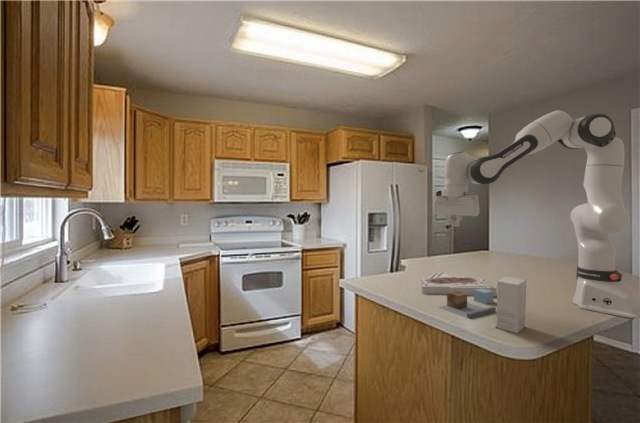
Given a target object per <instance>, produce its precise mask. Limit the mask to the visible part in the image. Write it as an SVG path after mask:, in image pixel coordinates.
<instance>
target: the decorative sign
mask: <svg viewBox="0 0 640 423" xmlns="http://www.w3.org/2000/svg"><path fill="white" fill-rule="evenodd" d="M482 288H483V289H487V290H491V291H494V297H497V286H495V285H491V284H488V283H487V282H486V279H485V278H484V277H483V278H482V277H477V276H461V275H455V274H451V273H449V272H443V271H440V272H434V273H432V274H431V275H430V276H428V277H422V278H421V294H422V295H423V294H424V295H425V294H426V295H447V293H448V292H453V291H459V292H462V293H466V294H467V296H474V290H477V289H482Z"/></svg>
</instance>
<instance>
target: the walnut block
mask: <svg viewBox="0 0 640 423" xmlns="http://www.w3.org/2000/svg"><path fill="white" fill-rule="evenodd" d="M467 303H468V295H467V294H466V293H462V292H459V291H453V292H448V293H447V294H446V305H447V306H450V307H453V308H456V309H461V308H466V307H467Z"/></svg>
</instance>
